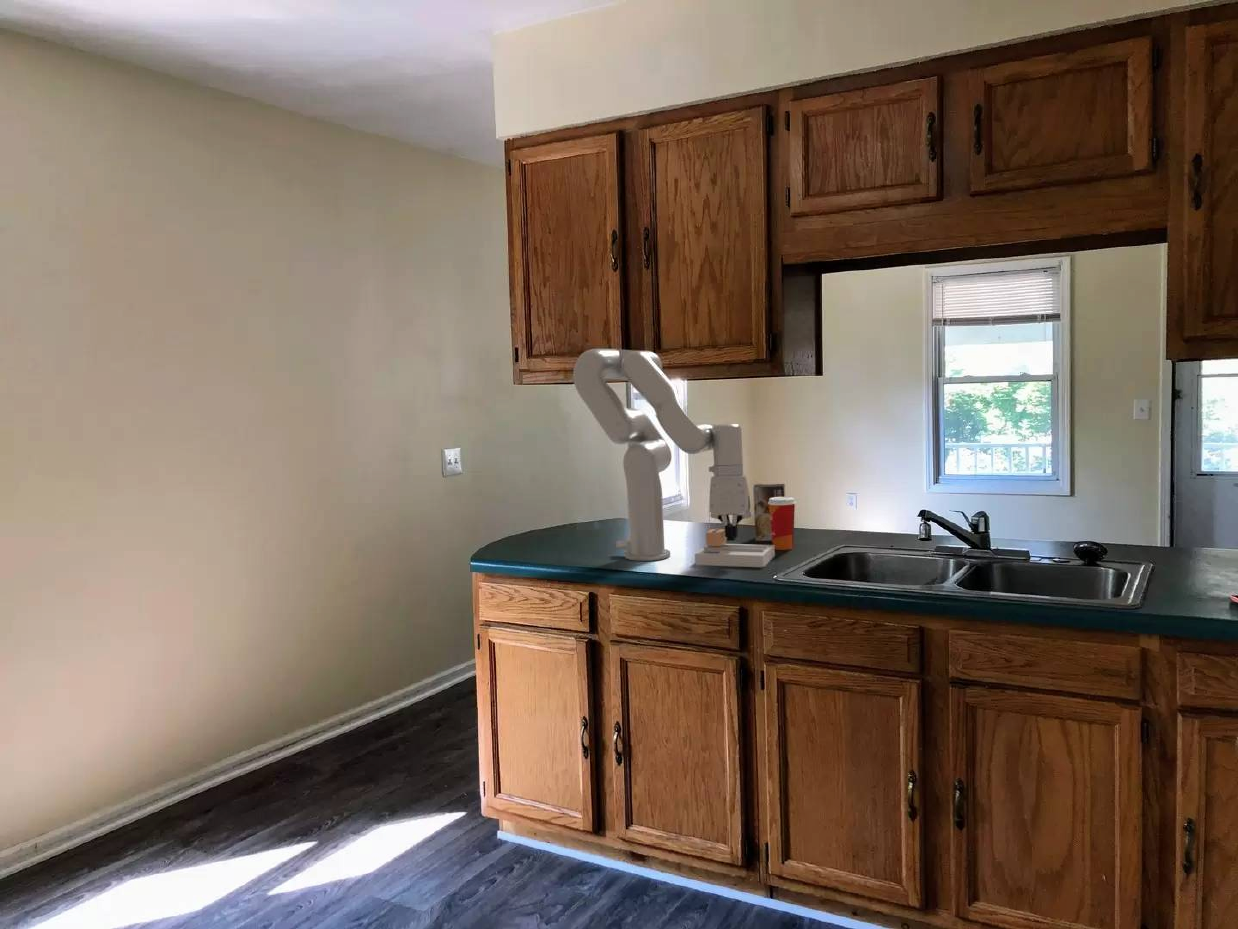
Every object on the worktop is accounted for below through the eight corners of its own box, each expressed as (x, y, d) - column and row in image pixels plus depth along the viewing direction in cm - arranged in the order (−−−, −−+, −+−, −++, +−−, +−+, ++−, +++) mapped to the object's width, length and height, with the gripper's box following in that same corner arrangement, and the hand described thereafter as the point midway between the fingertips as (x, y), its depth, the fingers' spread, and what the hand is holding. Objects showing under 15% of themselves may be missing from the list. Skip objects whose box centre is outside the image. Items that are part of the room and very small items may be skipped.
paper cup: (777, 544, 264) (776, 495, 262) (802, 546, 259) (800, 497, 257) (763, 549, 258) (762, 499, 256) (788, 552, 253) (786, 501, 251)
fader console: (695, 564, 241) (694, 550, 241) (709, 554, 254) (709, 540, 254) (763, 567, 235) (763, 552, 235) (774, 556, 248) (774, 542, 248)
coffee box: (787, 537, 274) (786, 483, 273) (786, 541, 268) (784, 486, 266) (756, 537, 277) (754, 483, 275) (754, 541, 270) (752, 486, 269)
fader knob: (706, 550, 245) (706, 531, 244) (711, 546, 249) (711, 528, 249) (721, 550, 243) (720, 531, 243) (726, 546, 248) (725, 528, 247)
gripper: (697, 472, 242) (700, 542, 244) (753, 472, 236) (756, 543, 238) (705, 469, 249) (708, 537, 251) (759, 468, 243) (762, 537, 245)
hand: (731, 539), depth 244 cm, fingers closed
